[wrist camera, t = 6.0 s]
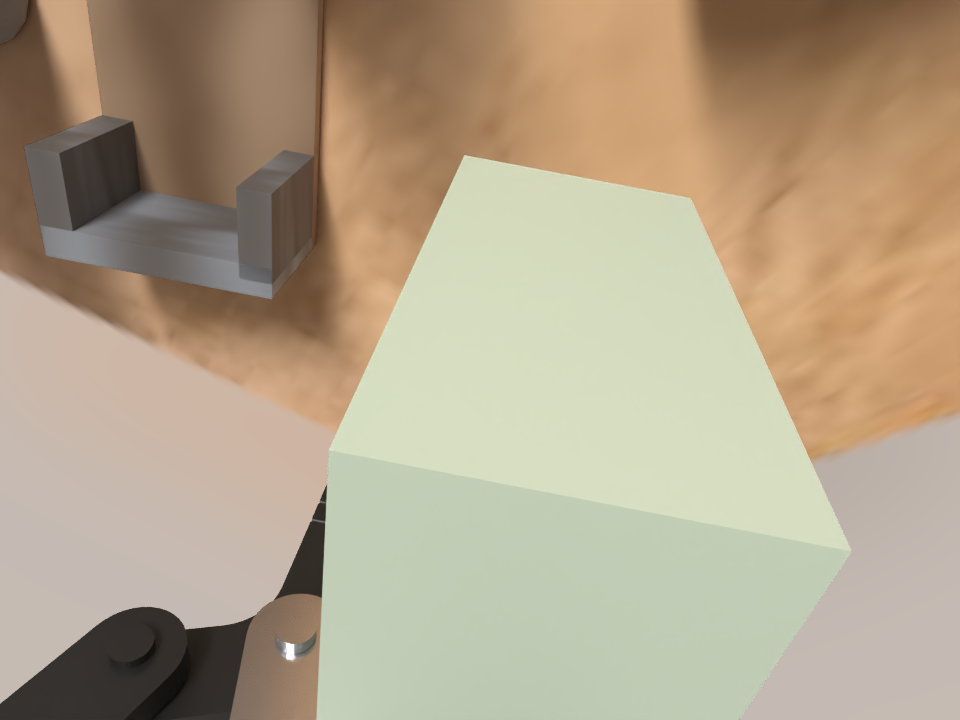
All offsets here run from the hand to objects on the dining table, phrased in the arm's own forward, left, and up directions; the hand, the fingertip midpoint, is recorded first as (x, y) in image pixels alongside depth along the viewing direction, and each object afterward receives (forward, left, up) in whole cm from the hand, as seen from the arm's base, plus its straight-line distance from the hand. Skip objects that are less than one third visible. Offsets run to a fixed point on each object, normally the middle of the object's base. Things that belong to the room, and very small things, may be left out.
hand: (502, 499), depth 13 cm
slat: (0, 0, -1) cm, 1 cm away
